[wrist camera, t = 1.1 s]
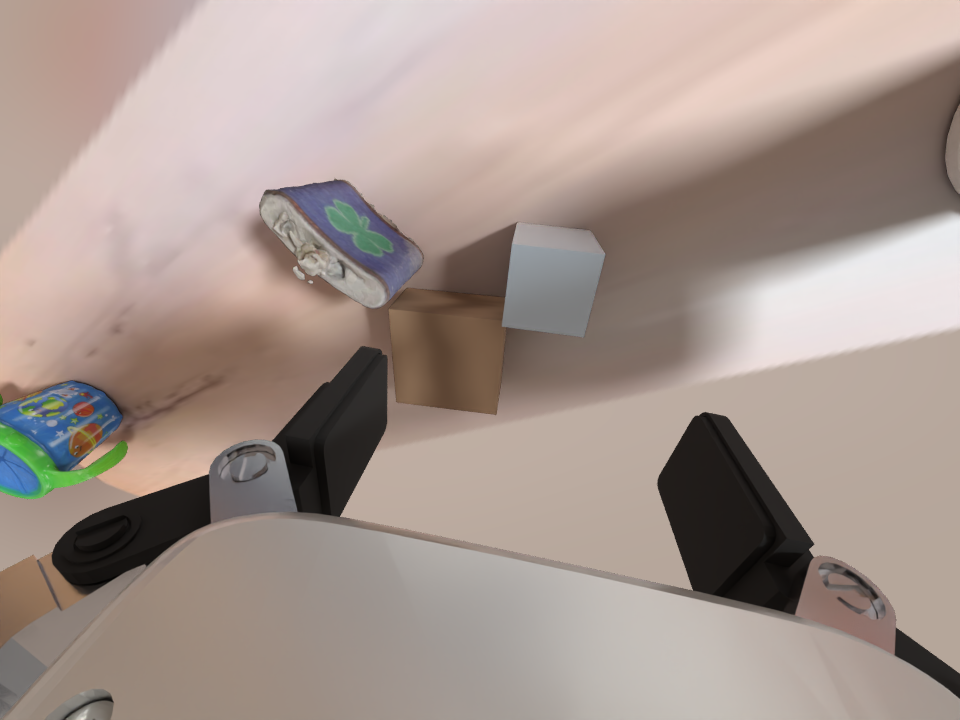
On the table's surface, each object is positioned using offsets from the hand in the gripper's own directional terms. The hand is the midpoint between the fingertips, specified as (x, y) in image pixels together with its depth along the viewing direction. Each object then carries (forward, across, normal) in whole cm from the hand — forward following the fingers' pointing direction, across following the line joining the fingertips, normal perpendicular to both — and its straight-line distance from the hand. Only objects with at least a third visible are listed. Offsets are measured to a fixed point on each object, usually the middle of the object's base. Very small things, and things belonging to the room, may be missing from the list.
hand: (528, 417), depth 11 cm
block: (+21, +5, +9) cm, 24 cm away
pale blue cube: (+21, -1, +1) cm, 21 cm away
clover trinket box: (+21, +13, 0) cm, 25 cm away
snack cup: (+21, +49, +28) cm, 60 cm away
